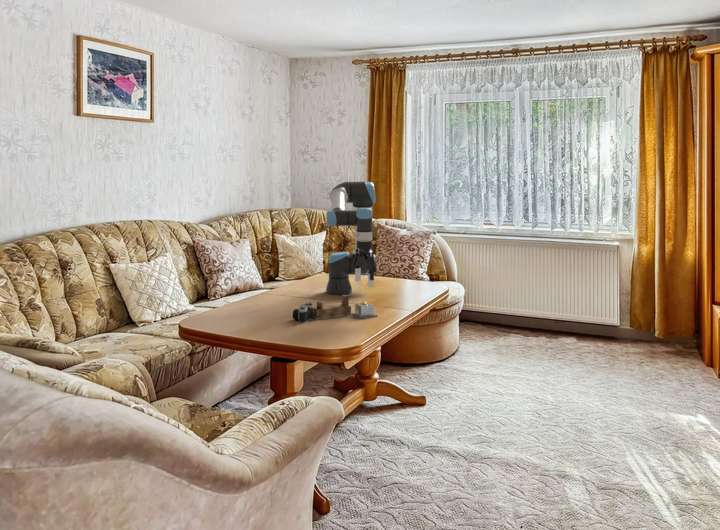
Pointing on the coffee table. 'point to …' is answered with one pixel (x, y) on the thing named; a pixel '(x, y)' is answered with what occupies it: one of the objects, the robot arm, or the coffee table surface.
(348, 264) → the robot arm
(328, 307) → the plane body
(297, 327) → the coffee table surface
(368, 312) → the grey gold knob block
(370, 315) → the felt mat
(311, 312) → the camera
